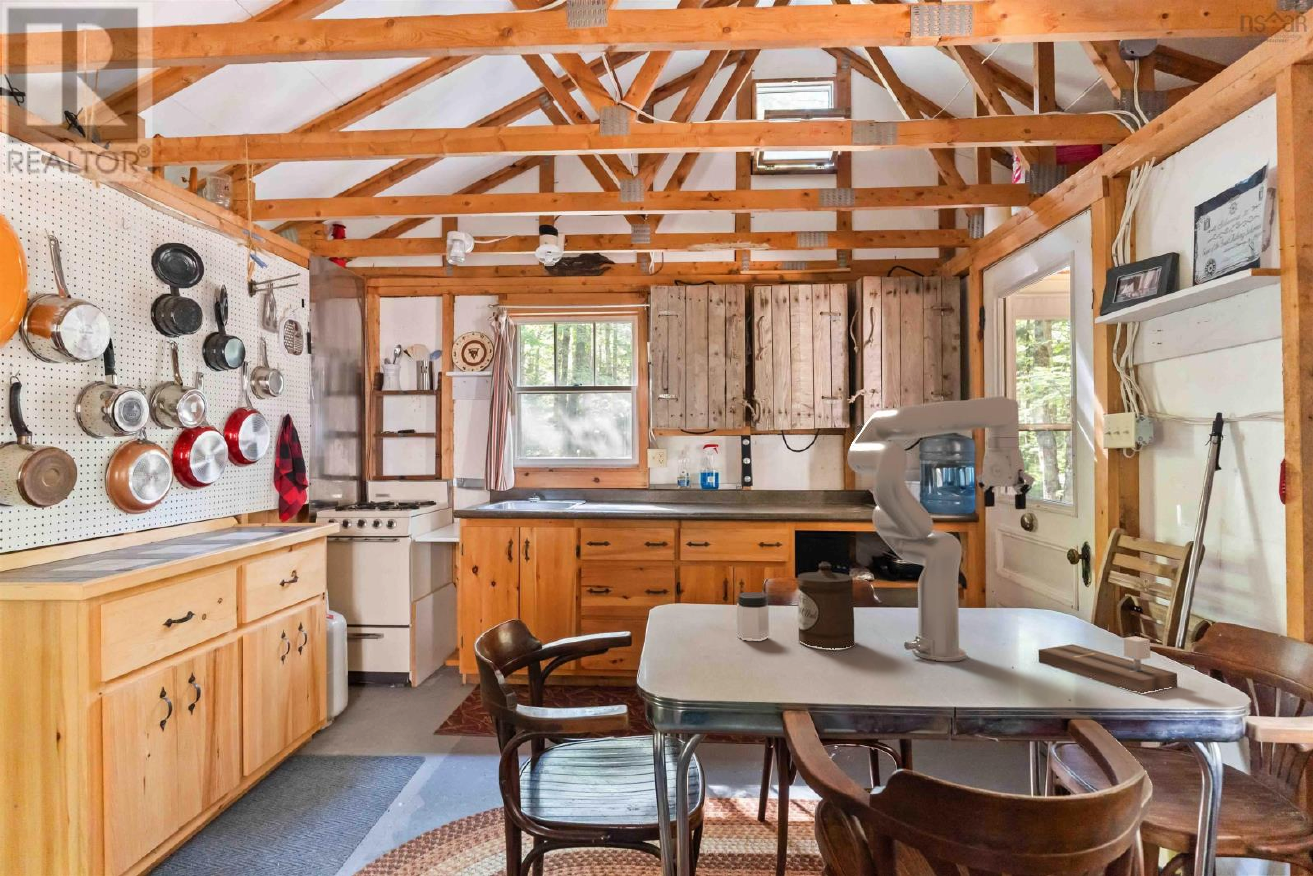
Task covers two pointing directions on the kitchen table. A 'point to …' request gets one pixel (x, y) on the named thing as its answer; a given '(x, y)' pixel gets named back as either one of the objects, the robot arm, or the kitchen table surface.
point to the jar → (752, 615)
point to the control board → (1107, 668)
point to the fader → (1137, 649)
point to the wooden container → (825, 608)
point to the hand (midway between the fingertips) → (1004, 507)
